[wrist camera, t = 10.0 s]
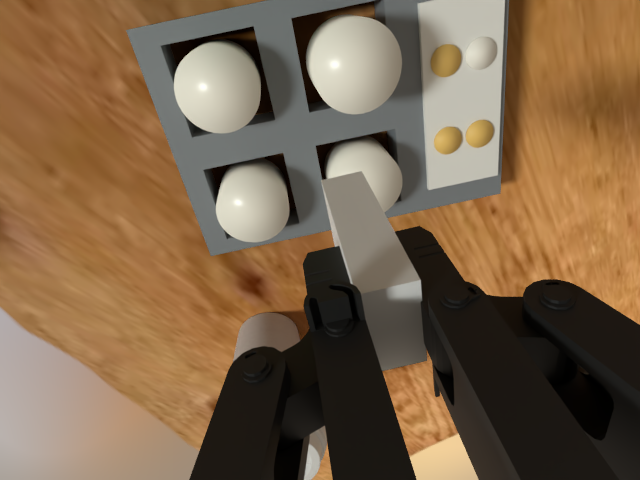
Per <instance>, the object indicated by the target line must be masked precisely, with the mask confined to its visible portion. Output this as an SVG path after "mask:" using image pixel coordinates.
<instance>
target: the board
mask: <svg viewBox="0 0 640 480" xmlns="http://www.w3.org/2000/svg"><path fill="white" fill-rule="evenodd" d="M370 1H374V7H375V17H376V20H377V21H379V22H381V23H382V24H383V25H385V26H386V27H387V28H388V29H389V30H390V31H391V32H392V33H393V35H394V36H395V38H396V40H397V42H398V44H399V47H400V51H401V56H402V69H401V75H400V79H399V82H398V84H397V86H396V88H395V90H394V92H393V93H392V95H391V96H390V97H389V98H388V99H387V100H386V101H385V102H384V103H383V104H382V105H381V106H379V107H378V108H376V109H374V110H372V111H370V112H367V113H363V114H346V113H342V112H340V111H337V110H335V109H334V108H332V107H331V106H329V105H328V104H327V103H326V102H325V101H324V100H323V101H318V102H314V103H309V104H308V103H307V98H306V93H305V88H304V82H303V77H302V72H301V67H300V61H299V56H298V51H297V46H296V40H295V35H294V30H293V25H292V20H291V18H294V17H299V16H304V15H309V14H313V13H318V12H323V11H328V10H332V9H337V8H342V7H347V6H351V5H356V4H361V3H366V2H370ZM508 12H509V0H266V1H261V2H257V3H252V4H247V5H242V6H238V7H233V8H228V9H223V10H219V11H214V12H209V13H204V14H200V15H195V16H190V17H185V18H181V19H176V20H171V21H166V22H162V23H157V24H152V25H147V26H143V27H138V28H134V29H129V30H126V31H127V34H128V36H129V39H130V42H131V44H132V47H133V50H134V52H135V55H136V58H137V60H138V63H139V66H140V68H141V71H142V74H143V76H144V79H145V82H146V84H147V87H148V90H149V92H150V95H151V98H152V100H153V103H154V106H155V108H156V111H157V113H158V116H159V119H160V121H161V124H162V127H163V129H164V132H165V135H166V137H167V140H168V143H169V145H170V148H171V151H172V153H173V156H174V159H175V161H176V164H177V167H178V169H179V172H180V175H181V177H182V180H183V183H184V185H185V188H186V191H187V193H188V196H189V199H190V201H191V204H192V207H193V209H194V212H195V215H196V217H197V220H198V223H199V225H200V228H201V231H202V233H203V236H204V239H205V241H206V244H207V247H208V249H209V252H210V255H211V256H213V255H218V254H222V253H227V252H232V251H236V250H241V249H246V248H250V247H255V246H259V245H264V244H269V243H273V242H278V241H283V240H287V239H292V238H296V237H301V236H306V235H310V234H315V233H319V232H324V231H329V230H331V225H330V220H329V216H328V211H327V206H326V201H325V196H324V192H323V187H322V182H321V180H322V177H321V171H320V166H319V161H318V156H317V150H316V146H317V145H322V144H326V143H331V142H336V141H340V140H345V139H350V138H354V137H359V136H364V135H368V134H373V133H378V132H382V131H387V138H388V148H389V155H390V156H391V157H392V158H393V160H394V161H395V162H396V163H397V165H398V166H399V168H400V170H401V174H402V189H401V193H400V195H399V197H398V199H397V201H396V202H395V203H394V205H393V206H392V207H391V208H390V209H389V210H387V211H386V212H384V213H385V215H386V217H387V218H389V217H393V216H398V215H403V214H407V213H412V212H416V211H421V210H426V209H430V208H435V207H440V206H444V205H449V204H453V203H458V202H463V201H467V200H472V199H477V198H481V197H486V196H490V195H495V194H500V190H501V168H502V145H503V123H504V101H505V78H506V56H507V34H508ZM252 26H254V30H255V35H256V39H257V43H258V47H259V52H260V56H261V60H262V64H263V69H264V73H265V77H266V82H267V86H268V90H269V94H270V99H271V103H272V107H273V111H271V112H267V113H262V114H257V115H254V117H253V118H252V120H251V121H250V122H249V123H248V124H247V125H245V126H244V127H242V128H241V129H239V130H237V131H234V132H230V133H213V132H208V131H206V130H203V129H201V128H199V127H197V126H196V125H195V124H193V123H192V122H191V121H190V120H189V119H188V118H187V117H186V116H185V115H184V113H183V112H182V111H181V109H180V107H179V105H178V103H177V100H176V97H175V92H174V77H175V73H176V70H177V68H178V67H177V64H176V61H175V58H174V55H173V52H172V49H171V46H170V44H171V43H176V42H181V41H186V40H190V39H195V38H200V37H204V36H209V35H214V34H219V33H223V32H228V31H233V30H238V29H242V28H247V27H252ZM280 153H283V154H284V158H285V163H286V167H287V171H288V176H289V180H290V184H291V188H292V193H293V197H294V201H295V205H296V209H292V210H289V217H288V221H287V223H286V225H285V227H284V228H283V229H282V230H281V232H279V233H278V234H277V235H276V236H274V237H273V238H271V239H268V240H266V241H262V242H245V241H241V240H238V239H236V238H234V237H232V236H231V235H229V234H228V233H227V232H226V231H225V230H224V229H223V228H222V227H221V225H220V223H219V221H218V219H217V215H216V203H217V198H218V194H219V191H218V188H217V185H216V182H215V179H214V176H213V173H212V170H211V168H214V167H219V166H224V165H228V164H233V163H238V162H242V161H247V160H252V159H256V158H261V157H266V156H270V155H275V154H280Z"/></svg>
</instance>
